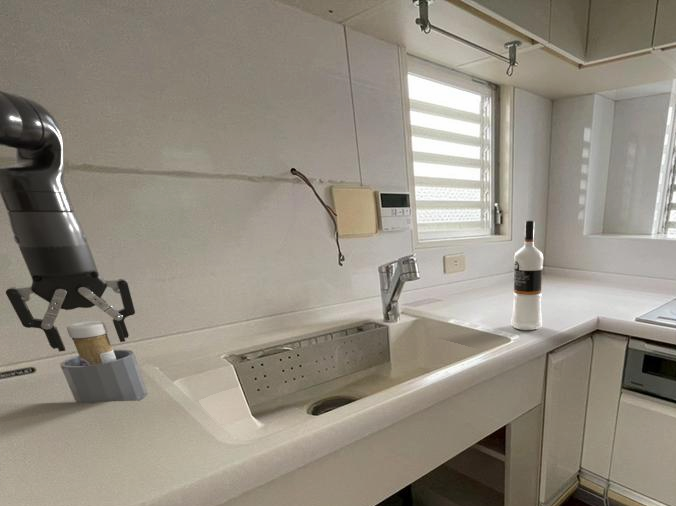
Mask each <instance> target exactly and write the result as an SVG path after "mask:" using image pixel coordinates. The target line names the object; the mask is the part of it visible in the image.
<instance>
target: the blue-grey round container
mask: <svg viewBox="0 0 676 506" xmlns="http://www.w3.org/2000/svg"><path fill="white" fill-rule="evenodd" d="M113 351H114V354H115V357H116V359H117V360H114V361H110V362H106V363H101V364H95V365H86V366H83V365H82V363H81V360H80V356H79V355H77V356H76V355H75V356H72V357H69V358H67V359H65V360H63V361H62V362H60V363H59V365H60V366H59V367H60V369H61V371H62V373H63V375H64V377H65V380H66V382H67V384H68V388H69V389H70V392H71V394H72V396H73V399H74V401H75V403H80V404H95V403H105V402H110V403H111V402H139V401H141V400H143V399H144V398H145V397H147V395H148V389H147V387H146V384H145V381H144V377H143V375H142V372H141V369H140V366H139V363H138V360H137V358H136V354H135V353H134V352H133V350H130V349H113Z"/></svg>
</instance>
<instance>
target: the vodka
mask: <svg viewBox="0 0 676 506" xmlns="http://www.w3.org/2000/svg"><path fill="white" fill-rule="evenodd" d="M513 263H514V265H513V268H514V270H513V273H514V274H513V293H512V295H513V305H512V307H513V309H512V316H511V319H510V324H511V326H512V328H514V329H516V330H520V331H533V330H534V331H535V330H538V329H539V328H541V327H542V325H543V319H542V296H543V293H542V281H543V279H542V278H543V269H544V266H543V265H544V255H543V253H542V251H541V250H540V249H539V248H537V247H536V246H535V221H534V220H525V221H524V245H523V246H521V248H519V249H518V250H517V251H515V253H514V256H513Z"/></svg>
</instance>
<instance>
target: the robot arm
mask: <svg viewBox="0 0 676 506" xmlns="http://www.w3.org/2000/svg"><path fill="white" fill-rule="evenodd" d="M0 147H5V148H12V149H15V163H14V165H6V166H1V167H0V199H1V201H2V203H3V206H4V209H5V211H6V213H7V216H8V221H9V226H10V228H11V231H12V234H13V239H14V241H15V243H16V244H17V246H18V248H19V252H20V254H21V255H22V258H23V259H24V263H25V265H26V267H27V271H28V272H29V275H30V276H31V280H32V283H31V286H30V285H29V286H23V287H21V286H20V287H15V286H11V287H8V288H7V289H6V290H5V295H6V296H7V299H8V300H9V302H10V304H11V306H12V308H13V310H14V312H15V313H16V315H17V317H18V319H19V321H20V323H21V324H22V326H23V327H24V328H28V329H30V328H31V329H32V328H33V329H39V330H42V331H43V332H44V335H45V337H46V339H47V342H48V345H49V346H50V347H51V348H52V350H55V349H57V350H58V352H65V351H66V346H65V344H64V342H63V339H62V337H61V334H60V332H59V329H58V327H57V326H55V322H56V319H57V317H58V315H59V313H60V310H65V311H70V310H76V309H78V308H81V309H91V308H93V307H97V308H98V309H100V310H101V311H103V312H104V313H105V314H107V315H108V316H109V317H111V318H112V320H111V321H112V324H113V327H114V328H115V331H116V335H117V337H118V341H119V343H124V342H126V339H128V338H129V336H130V334H129V332H128V328H127V326H126V323H125V319H126V318H128V317H130V316H134V315H135V314H136V310H135V306H134V303H133V298H132V295H131V291H130V287H129V282H127V280H126V279H123V278H119V279H115V280H105V279H103V277H102V276H100V273H99V270H98V267H97V265H96V262H95V259H94V255H93V254H92V250H91V247H90V245H89V242H88V238H87V236H86V233H85V230H84V229H83V226H82V224H81V222H80V221H79V218H78V216H77V214H76V212H75V209H74V206H73V204H72V202H71V198H70V196H69V192H68V190H67V188H66V184H65V151H64V150H65V149H64V138H63V133H62V131H61V127H60V125H59V124H58V122H57V120H56V119H55V117H54V115H52V114H51V112H50V111H49V110H48V109H47V108H46V107H45V106H44V105H42V104H41V103H39V102H38V101H36V100H34V99H32V98H29V97H27V96H23V95H20V94H15V93H11V92H9V91H3V90H0ZM107 288H111V290H112V291H113V293H116V294H119V296H120V299H121V303H122V306H123V308H122V309H119V310H117V308H115V307H113V306H112V305H111V304H110V303H109V302H108V301H106V300H105V299H104V298H102V297H103V295H104V293H105V291H106V289H107ZM31 294H35V295H36V296H38V297H39V298H41V299H42V300H44V301H46V302H48V305H47V308H46V311H45V313H44V315H43V317H42V318H40V319H39V318H35V317H34V316H33V314H32V312H31V310H30V308H29V307H28V304H27V303H26V302H29V301H30V299H31Z"/></svg>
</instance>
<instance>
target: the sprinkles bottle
mask: <svg viewBox="0 0 676 506" xmlns="http://www.w3.org/2000/svg"><path fill="white" fill-rule="evenodd" d="M66 330H67V333H68V336H69V338H71V340H72V341H73V344H74V347H75V348H76V351H77V354H78V356H80V360H81V363H82V365H83V366H86V365H95V364H101V363H106V362H110V361H114V360H117V359H116V357H115V354H114V351H113V350H114V349H113V347H112V345H111V342H110V339H109V337H108V330H107V326H106V324H105V322H103V321H101V320H100V321H99V320H91V321H81V322H76V323H72V324H69V325H67V326H66Z"/></svg>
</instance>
